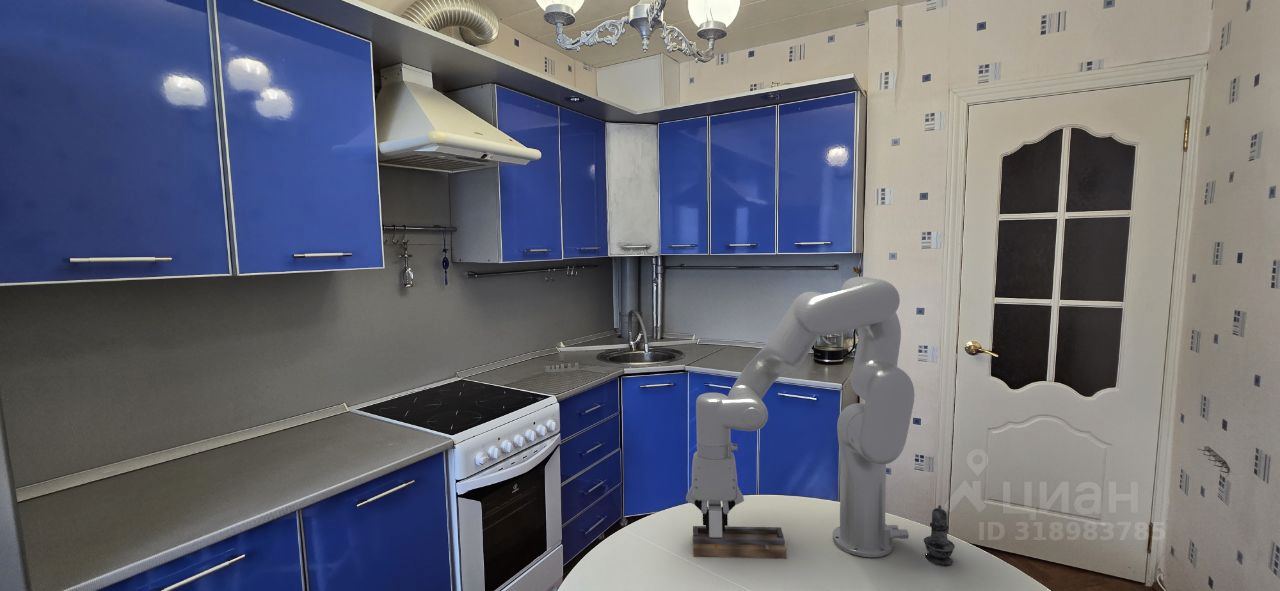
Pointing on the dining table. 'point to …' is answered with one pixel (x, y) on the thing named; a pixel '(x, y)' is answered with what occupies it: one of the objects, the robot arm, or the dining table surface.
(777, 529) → the wooden tray
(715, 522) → the block
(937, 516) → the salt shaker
